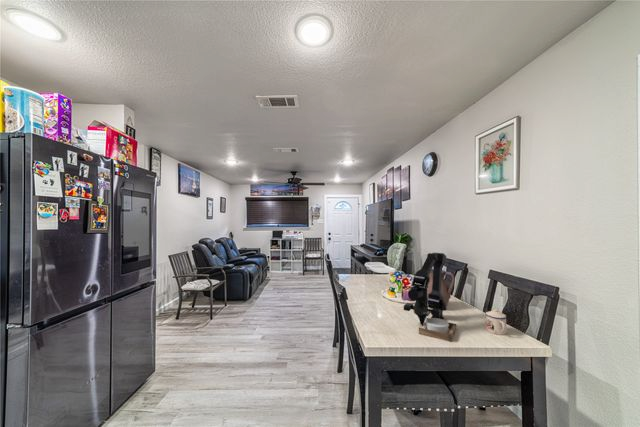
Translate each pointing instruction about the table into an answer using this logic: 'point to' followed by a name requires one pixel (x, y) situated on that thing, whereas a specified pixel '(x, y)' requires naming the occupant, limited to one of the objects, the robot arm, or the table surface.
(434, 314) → the robot arm
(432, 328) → the ramekin
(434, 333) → the walnut dock
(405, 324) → the table surface
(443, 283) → the ceramic pitcher
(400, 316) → the table surface
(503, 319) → the teacup with lid
